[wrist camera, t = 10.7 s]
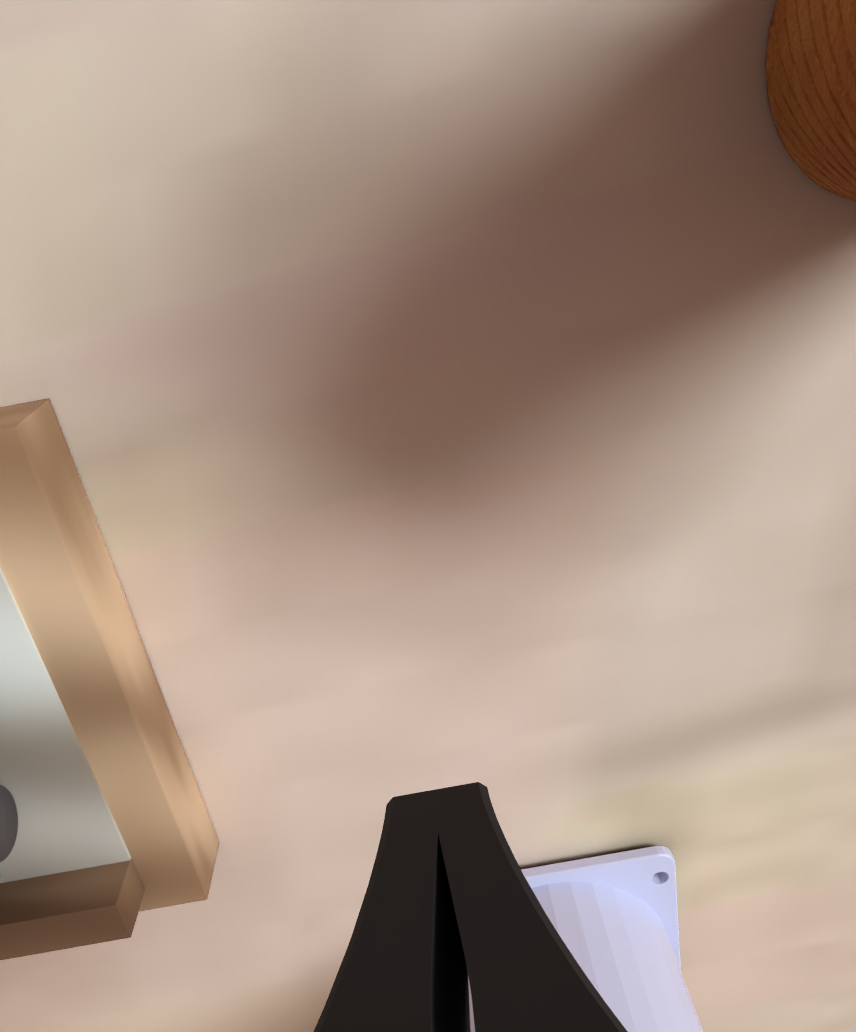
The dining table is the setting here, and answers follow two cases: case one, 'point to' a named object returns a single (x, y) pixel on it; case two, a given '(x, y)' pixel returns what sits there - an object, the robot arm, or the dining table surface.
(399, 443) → the dining table surface
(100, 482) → the dining table surface
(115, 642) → the dock
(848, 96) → the disposable coffee cup
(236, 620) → the dining table surface
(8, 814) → the blue block with feet
